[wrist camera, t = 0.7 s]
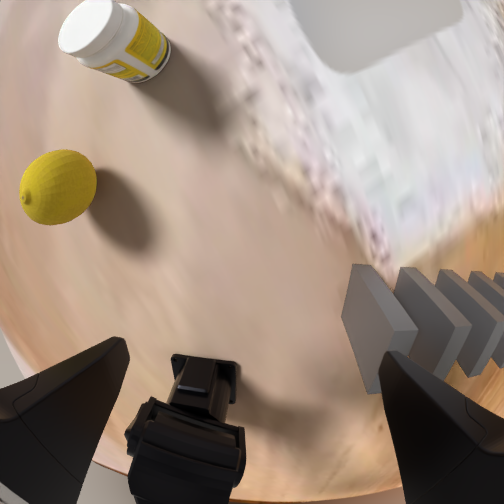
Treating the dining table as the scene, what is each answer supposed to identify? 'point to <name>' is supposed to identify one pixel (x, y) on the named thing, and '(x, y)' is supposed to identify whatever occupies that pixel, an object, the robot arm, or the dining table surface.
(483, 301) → the domino
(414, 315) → the domino
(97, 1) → the supplement bottle
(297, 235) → the dining table surface
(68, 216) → the lemon
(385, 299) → the domino
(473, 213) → the dining table surface
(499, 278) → the domino
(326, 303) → the dining table surface
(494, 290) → the domino
